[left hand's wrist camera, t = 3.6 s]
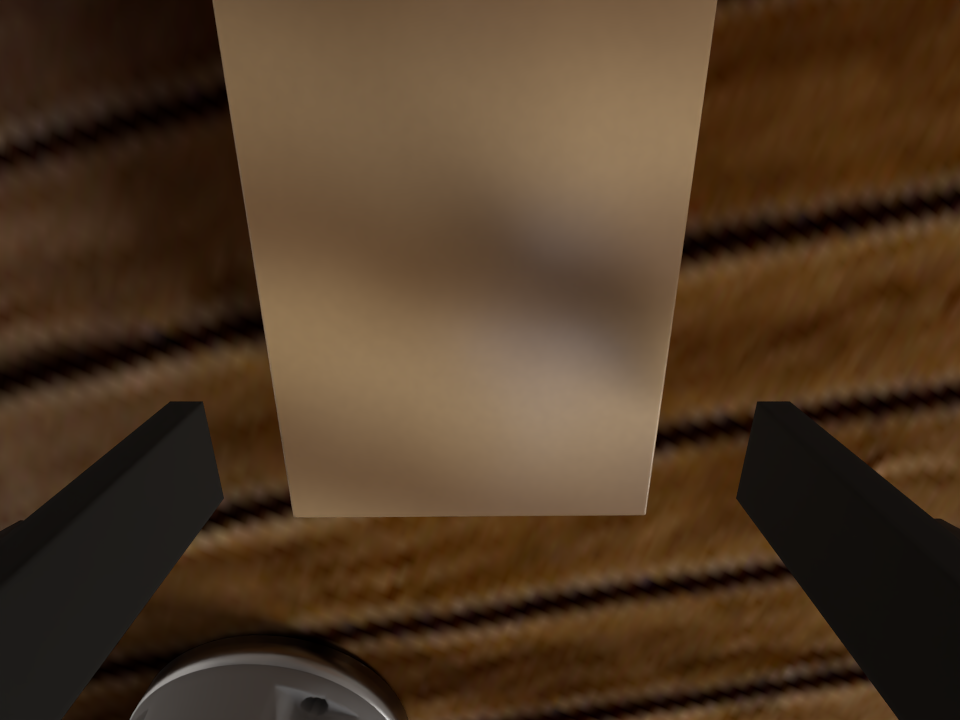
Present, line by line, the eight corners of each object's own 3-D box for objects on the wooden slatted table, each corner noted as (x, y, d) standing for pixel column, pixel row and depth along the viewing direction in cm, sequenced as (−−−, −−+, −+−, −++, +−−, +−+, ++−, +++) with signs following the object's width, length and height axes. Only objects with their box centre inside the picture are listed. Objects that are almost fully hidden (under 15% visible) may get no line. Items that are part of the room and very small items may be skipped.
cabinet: (305, -42, 17) (181, -185, 10) (630, -41, 17) (743, -181, 10) (349, 404, 23) (292, 518, 16) (592, 402, 23) (646, 516, 16)
